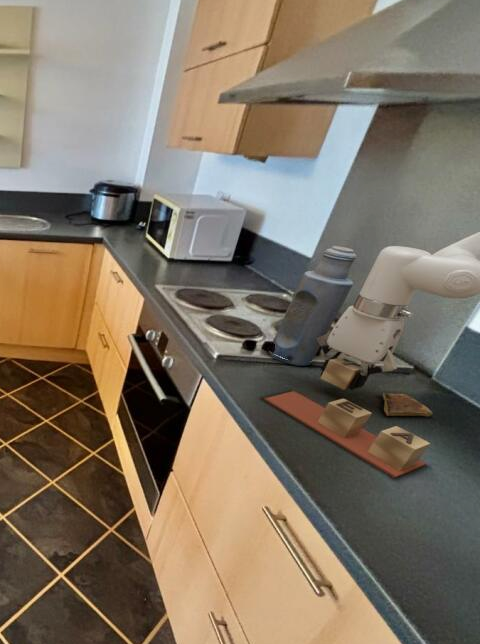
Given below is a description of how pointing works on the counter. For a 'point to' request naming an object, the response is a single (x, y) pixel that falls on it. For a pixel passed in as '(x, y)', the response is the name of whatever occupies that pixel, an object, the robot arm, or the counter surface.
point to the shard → (404, 406)
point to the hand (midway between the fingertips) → (339, 380)
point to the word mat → (356, 443)
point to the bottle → (314, 307)
